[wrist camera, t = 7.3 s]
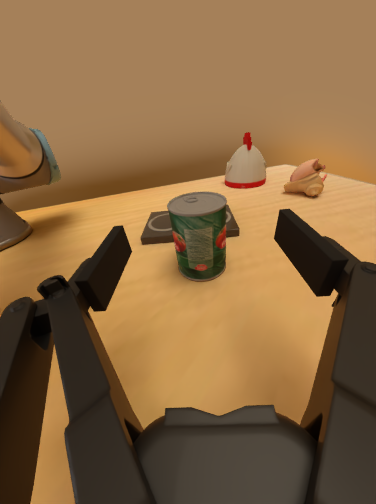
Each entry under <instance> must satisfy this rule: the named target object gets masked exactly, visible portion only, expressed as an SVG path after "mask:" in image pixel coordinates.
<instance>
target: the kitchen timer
mask: <svg viewBox="0 0 376 504" xmlns="http://www.w3.org/2000/svg"><path fill="white" fill-rule="evenodd" d="M243 143H244V145H243V146H241V147H240V148H239V149H238V150H237V151H236V152H235V153H234V155H233V156H232V158H231V160H230V162H227V167H226V175H225V185H226V186H229V187H233V188H253V187H258V186H261V185H263V184H265V181H266V161H264V159H263V157H262V155H261V153H260V152H259V150H258V149H257V148H256V147H255V146H253V145H252V142H251V137H250V133H249V132H248V133H245V136H244V138H243Z"/></svg>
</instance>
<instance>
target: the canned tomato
mask: <svg viewBox="0 0 376 504" xmlns="http://www.w3.org/2000/svg"><path fill="white" fill-rule="evenodd" d="M226 203H227V200H226V198H225V197H224V196H223V195H221V194H218V193H214V192H193V193H187V194H183V195H180V196H178V197H175V198H173V199H172V200H171V201H169V203H168V205H167V207H168V210H169V216H170V221H171V227H172V232H173V239H174V244H175V249H176V254H177V260H178V265H179V271H180V272H181V274H182V275H183V276H184V277H186V278H188V279H190V280H194V281H208V280H212V279H214V278H216V277H218V276H220V275H221V274H222V273H223V271H224V270H225V267H226V262H225V259H226Z"/></svg>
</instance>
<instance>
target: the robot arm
mask: <svg viewBox="0 0 376 504" xmlns="http://www.w3.org/2000/svg"><path fill="white" fill-rule="evenodd" d="M60 179H61V174H60V170H59V168H58V165H57V163H56V160H55V157H54V155H53V153H52V151H51V148H50V146H49V144H48V142H47V140H46V138H45V136H44V135H43V134H42V132H41V131H40V130H38V129H31V128H27V127H26V126H24V125H23V124H21V123H20V122H18V121H16V120H14V119H13V118H12V116H11V115H10V114H9V112H8V111H7V109H6V108H5V107H4V105H3V104H2V103H1V101H0V194H4V193H9V192H14V191H18V190H23V189H28V188H33V187H37V186H42V185H50V184H51V183H55V182H58V181H59V180H60ZM31 232H32V228H31V226H30V225H29V224H28V223H27V222H26V221H25V220H23V219H22V218H21V217H20V216H18V215H17V214H16V213H15V212H13V211H12V210H11V209H10V208H8V207H7V206H6V205H5V204H4V203H3V201H2V200H1V199H0V250H3V249H5V248H8V247H10V246H12V245H14V244H16V243H18V242H20V241H21V240H23V239H24V238H26V237H27V236H28V235H29V234H30V233H31ZM274 239H275V241H276V242H277V243H278V245H279V246H280V248H281V249H282V250H283V252H284V253H285V254H286V256H287V257H288V258H289V260H290V261H291V262H292V264H293V265H294V266H295V268H296V269H297V271H298V272H299V273H300V275H301V276H302V277H303V279H304V280H305V281H306V283H307V284H308V285H309V287H310V288H311V290H312V291H313V292H314V294H315V295H316V296H317V297H319V296H330V295H331V293H332V291H333V289H335V290H336V291H337V292H338V295H337V297H336V299H335V301H334V303H333V304H332V307H334V308H333V312H332V316H331V319H330V323H329V327H328V331H327V335H326V338H325V342H324V346H323V350H322V354H321V358H320V361H319V365H318V369H317V373H316V377H315V380H314V384H313V388H312V392H311V396H310V400H309V403H308V406H307V409H306V411H305V413H304V415H303V418H302V421H301V424H300V425H299V424H297V423H296V422H294V421H293V420H291V419H289V418H288V417H286V416H284V415H281V414H279V413H276V412H275V409H274V405H256V406H244V407H242V408H239V409H237V410H234V411H232V412H229V413H227V414H224V415H221V416H217V415H214V414H210V413H207V412H204V411H201V410H198V409H195V408H192V407H186V408H165V415H164V416H162V417H160V418H158V419H156V420H155V421H153V422H152V423H151V424H149V425H148V426H147V427H146V428H145V429H144V430H143V428H142V426H141V424H140V422H139V420H138V419H137V417H136V415H135V414H134V412H133V410H132V408H131V406H130V403H129V401H128V399H127V397H126V394H125V392H124V390H123V388H122V385H121V383H120V381H119V379H118V376H117V374H116V372H115V370H114V368H113V365H112V363H111V361H110V359H109V356H108V354H107V352H106V350H105V347H104V345H103V343H102V341H101V338H100V336H99V334H98V332H97V329H96V327H95V325H94V323H93V320H92V318H91V316H90V314H89V312H88V309H89V308H90V306H91V308H92V309H93V311H94V312H96V311H106V309H107V307H108V304H109V302H110V300H111V298H112V295H113V293H114V291H115V289H116V286H117V284H118V282H119V280H120V277H121V275H122V273H123V271H124V268H125V266H126V264H127V262H128V259H129V257H130V255H131V253H132V250H131V247H130V245H129V242H128V239H127V236H126V233H125V231H124V228H123V226H114V227H113V229H112V230H111V231H110V233H109V234H108V235H107V237H106V238H105V240H104V241H103V242H102V244H101V245H100V246H99V248H98V249H97V251H96V252H95V253H94V255H93V256H92V257H91V258H88V259H86V260H85V261H84V262H83V263H82V264H81V265H80V266H79V268H78V269H77V270H76V273H74V274H73V276H72V277H71V278H70V279H69V281H68V282H67V281H66V280H65V278H64V277H63V276H61V275H57V276H53V277H50V278H48V279H46V280H44V281H43V282H42V283H40V285H39V286H38V288H37V291H38V292H39V293H40V294H41V295H42V296H43V297H44V299H42V300H39V301H35V302H34V301H33V300H32V299H31V298H30V297H23V298H20V299H18V300H15V301H14V302H12V303H11V304H10V305H8V306H7V307H6V308H5V310H4V311H3V313H2V316H1V318H0V504H30V502H31V496H32V491H33V486H34V479H35V472H36V465H37V458H38V451H39V444H40V437H41V430H42V423H43V417H44V410H45V403H46V396H47V389H48V382H49V375H50V368H51V361H52V354H53V347H54V344H55V349H56V354H57V359H58V364H59V369H60V374H61V379H62V384H63V389H64V394H65V399H66V404H67V409H68V414H69V424H68V426H67V427H66V428H65V433H64V435H65V444H66V450H67V456H68V462H69V468H70V474H71V480H72V486H73V492H74V498H75V504H376V264H373V263H370V262H361V261H360V260H358V259H357V258H356V257H355V256H353V255H352V254H351V253H350V252H348V251H347V250H346V249H345V248H343V247H342V246H340V244H338V243H337V242H336V241H335V240H333V239H331V238H329V237H326V236H324V237H322V236H321V235H320V234H319V233H317V232H316V231H315V230H314V229H313V228H311V227H310V226H309V225H308V224H307V223H306V222H304V221H303V220H302V219H301V218H300V217H299V216H297V215H296V214H295V213H294V212H293V211H291V210H290V209H282V210H280V211H279V216H278V221H277V226H276V231H275V236H274Z"/></svg>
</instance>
